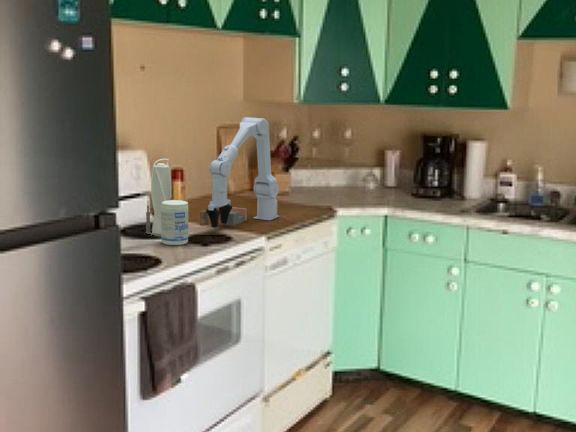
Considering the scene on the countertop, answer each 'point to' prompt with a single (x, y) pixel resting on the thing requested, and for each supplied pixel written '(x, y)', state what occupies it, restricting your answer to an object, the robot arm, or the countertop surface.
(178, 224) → the supplement tub
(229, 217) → the block
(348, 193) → the countertop surface
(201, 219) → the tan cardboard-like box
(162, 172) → the skyscraper
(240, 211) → the door
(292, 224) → the countertop surface
